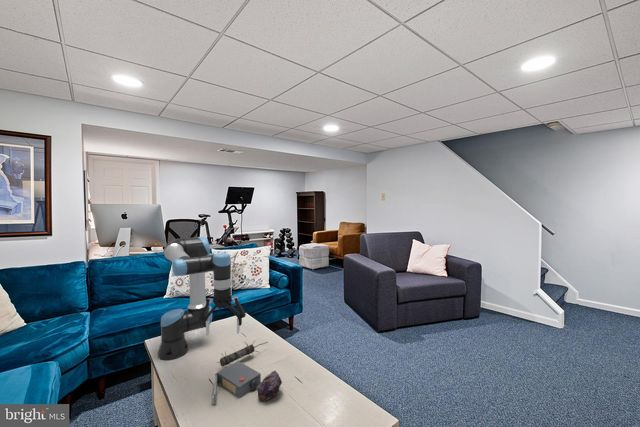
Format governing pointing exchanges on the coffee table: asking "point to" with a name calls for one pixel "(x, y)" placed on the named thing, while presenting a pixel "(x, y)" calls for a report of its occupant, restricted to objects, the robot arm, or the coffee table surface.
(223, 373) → the camera body
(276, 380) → the rock
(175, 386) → the coffee table surface
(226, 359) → the bomb
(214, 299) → the robot arm
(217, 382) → the side door
